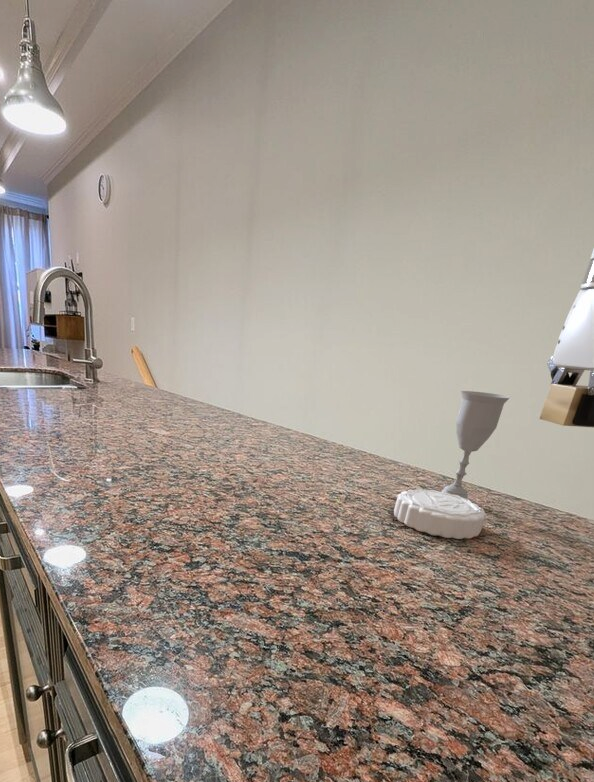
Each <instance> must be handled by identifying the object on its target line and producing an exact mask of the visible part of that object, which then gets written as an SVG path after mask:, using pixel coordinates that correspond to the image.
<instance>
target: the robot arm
mask: <svg viewBox="0 0 594 782" xmlns="http://www.w3.org/2000/svg"><path fill="white" fill-rule="evenodd" d="M572 303H573V304H572V306H571V307H570V308H569V312H568V314H567V316H566V318H565V321H564V324H563V326H562V329H561V331H560V334H559V337H558V340H557V343H556V345H555V349H554V353H553V355H552V356H551V357H550V358H549V360H548V361H547V363H546V364H547V367H548V370H549V372H550V378H551V382H550V385H551V384H563V385H577V384H578V383H579V381H580V379H581V377H582V376H583V374H584V372H585V371H589V378H588V385H587V386H588V395H587V394H583V395H582V397H581V400H580V403H579V406H578V408H577V411H576V414H575V417H574V419H573V424H574V425H580V426H594V248H593V249H592V253H591V255H590V258H589V261H588V264H587V267H586V270H585V273H584V276H583V280H582V282H581V285H580V289H579V291H578V293H577V295H576V297H575V299H574V301H573V302H572ZM570 373H571V374H570Z"/></svg>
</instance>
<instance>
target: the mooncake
mask: <svg viewBox="0 0 594 782" xmlns="http://www.w3.org/2000/svg"><path fill="white" fill-rule="evenodd" d="M393 512H394V513H393V516H394V517H395V518H397V521H399V522H400V523H402V524H404V526H406V527H408V528H412V529H414V530H416V531H418V532H420V533H426V534H428V535H431V536H435V537H436V536H437V537H441V538H444V539H455V540H462V539H469V540H470V539H472V538H474V537H476V538H477V537H478V536H479V535H480V533H481V532H482V529H483V526H484V523H485V520H486V517H487V513H486V512H485V509H484V508H482V507H480V506H479V504H477V503H474V502H472V501H471V500H470V499H468V498H467V499H465V498H462V497H460V496H458V495H453V494H447V493H443V492H441V491H439V490H435V489H424V488H418V489H409V490H402V491H401V493H398V495H397V497H396V501H395V505H394V509H393Z"/></svg>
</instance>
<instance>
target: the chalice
mask: <svg viewBox="0 0 594 782" xmlns="http://www.w3.org/2000/svg"><path fill="white" fill-rule="evenodd" d="M460 392H461V398H462V399H461V403H460V407H459V411H458V414H457V417H456V420H455V428H456V430H455V431H456V438H457V442H458V448H459V449H460V450H462V451H463V455H462V457H461V459H460V460H459V461H458V463H459V468H458V469H457V470H456V471H455V472H454V473H455V474H456V475H455V477H456V479H455V480H454V482H452V483H451V484H447V485H445V486H444V487H443V489H442V490H441V491H440V492H443V493H447V494H453V495H458V496H460V497H462V498H465V499H468V498H469V497H468V491H467V490H468V489H467V488H466V487H464V486H463V484H462V481H463V479H464V477H465V476H467V472H466V468H467V467H468V465H470V462H469V461H470V460H469V459H470V456H471V454H472V453H473V452H477V451H478V450H479V449H481V447H482V446H483V445H484V444H485V443H486V442H487V441H488V440H489V438H491V436H492V435H493V434H494V432H495V430H496V429H497V427H498V424H499V421H500V418H501V415H502V411H503V409H504V405H505V403H506V402H507V401H508V400H509V399H510V398H511V397H510V396H508V395H503V394H497V393H492V392H490V393H489V392H482V391H473V390H472V391H471V390H462V391H460Z"/></svg>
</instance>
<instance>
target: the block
mask: <svg viewBox="0 0 594 782" xmlns="http://www.w3.org/2000/svg"><path fill="white" fill-rule="evenodd" d="M583 394H587V395H588V385H580V384H579V385H577V384H576V385H563V384H551V383H550V386H549V389H548V390H547V394H546V397H545V401H544V404H543V407H542V410H541V413H540V416H539V418H538V419H539V420H542V421H545V422H549V423H553V424H556V425H558V426H564V427H577V428H578V427H580V428H594V426H580V425H574V424H573V419H574V417H575V414H576V411H577V408H578V406H579V403H580V400H581V397H582V395H583Z"/></svg>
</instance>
